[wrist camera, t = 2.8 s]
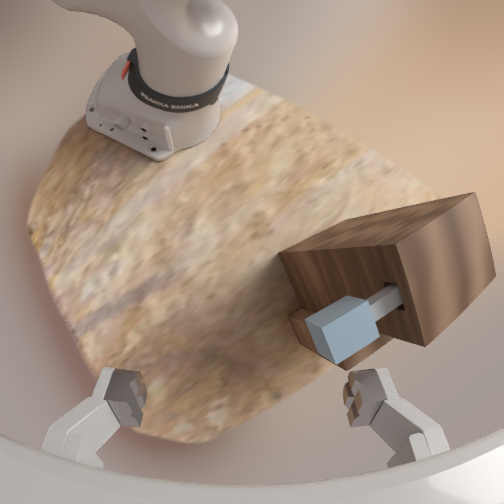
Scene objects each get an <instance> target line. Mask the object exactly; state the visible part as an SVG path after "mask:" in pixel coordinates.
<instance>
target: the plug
mask: <svg viewBox="0 0 504 504" xmlns="http://www.w3.org/2000/svg"><path fill="white" fill-rule="evenodd" d="M402 303H403V300H402V297H401V293H400V290H399V287H398V284H397V283H391V284H390V285H388V286H387V287H385V288H384V289H382V290H380V291H379V292H377V293H376V294H374V295H373V296H371V297H369V298H368V299H366V300H364V299H360V298H356V297H351V296H345V297H343V298H341V299H340V300H338V301H336V302H335V303H333V304H331V305H329V306H328V307H326V308H324V309H322V310H320V311H319V312H317V313H315V314H313V315H311V316H310V317H308V318H306V319H304V320H305V322H306V325H307V327H308V329H309V332H310V334H311V337H312V339H313V341H314V344H315V346H316V349H317V351H318V353H319V354H321V355H322V356H324V357H325V358H327V359H328V360H330V361H331V362H333V363H334V364H336V365H337V364H338V363H340V362H342V361H343V360H345V359H346V358H348V357H350V356H351V355H353V354H354V353H356V352H357V351H359V350H360V349H362V348H364V347H365V346H367V345H368V344H370V343H371V342H373V341H374V340H376V339H377V338H378V337H380V336H379V333H378V329H377V326H376V323H375V322H376V321H377V320H379V319H380V318H382V317H383V316H385V315H386V314H388V313H389V312H391V311H392V310H394V309H395V308H396V307H398V306H399V305H401V304H402Z"/></svg>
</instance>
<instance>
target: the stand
mask: <svg viewBox="0 0 504 504" xmlns="http://www.w3.org/2000/svg"><path fill="white" fill-rule="evenodd" d="M279 255H280V257H281V259H282V262H283V264H284V266H285V269H286V271H287V273H288V276H289V278H290V280H291V283H292V285H293V287H294V290H295V292H296V294H297V297H298V299H299V302H300V304H301V306H302V309H300V310H298V311H296V312H294V313H293V314H291V315H289V316H288V317H289V319H290V321H291V324H292V326H293V328H294V331H295V333H296V335H297V338H298V340H299V342H300V344H301V345H303V346H304V347H306V348H308V349H310V350H311V351H313V352H315V353H316V354H318V355H320V356H321V357H323V358H325V357H324V356H322V355H321V354H319V353H318V351H317V349H316V346H315V344H314V341H313V339H312V337H311V334H310V332H309V329H308V327H307V325H306V322H305V320H304V319H306V318H308V317H310V316H311V315H313V314H315V313H317V312H319V311H320V310H322V309H324V308H326V307H328V306H329V305H331V304H333V303H335V302H336V301H338V300H340V299H341V298H343V297H345V296H351V297H356V298H360V299H364V300H366V299H368V298H369V297H371V296H373V295H374V294H376V293H377V292H379V291H380V290H382V289H384V288H385V287H387V286H388V285H390V284H391V283H397V284H398V287H399V290H400V293H401V297H402V300H403V303H402V304H401V305H399V306H398V307H396V308H395V309H394V310H392V311H391V312H389V313H388V314H386V315H385V316H383V317H382V318H380V319H379V320H377V321H376V322H375V323H376V326H377V329H378V333H379V336H380V337H378V338H377V339H376V340H374V341H373V342H371V343H370V344H368V345H367V346H365V347H364V348H362V349H360V350H359V351H357V352H356V353H354V354H353V355H351V356H350V357H348V358H346V359H345V360H343V361H342V362H340V363H338V364H337V366H339V367H340V368H342V369H344V370H346V371H347V370H349V369H351V368H352V367H354V366H355V365H357V364H358V363H359V362H361V361H362V360H364V359H365V358H366V357H368V356H369V355H371V354H372V353H374V352H375V351H377V350H378V349H379V348H381V347H382V346H383V345H385V344H386V343H387V342H389V341H390V340H391V339H393V338H397V339H400V340H403V341H407V342H410V343H413V344H417V345H420V346H424V347H426V346H427V345H428V344H429V343H430V342H431V341H433V340H434V339H435V338H436V337H437V336H438V335H439V334H440V333H441V332H442V331H444V330H445V329H446V328H447V327H448V326H449V325H450V324H451V323H452V322H453V321H454V320H455V319H456V318H457V317H458V316H459V315H460V314H461V313H462V312H463V311H464V310H465V309H466V308H467V307H468V306H469V305H470V304H471V303H472V302H473V301H474V300H475V299H476V298H477V297H478V296H479V294H480V293H481V292H482V291H483V290H484V289H485V288H486V287H487V286H488V285H489V283H490V282H491V281H492V280H493V279H494V278H495V277H496V273H495V267H494V262H493V257H492V253H491V248H490V244H489V239H488V236H487V232H486V228H485V224H484V220H483V216H482V213H481V209H480V206H479V203H478V200H477V196H476V193H475V192H472V193H468V194H462V195H458V196H453V197H448V198H444V199H439V200H434V201H430V202H425V203H420V204H416V205H411V206H407V207H402V208H397V209H393V210H388V211H384V212H379V213H375V214H370V215H366V216H361V217H357V218H352V219H348V220H345V221H343V222H341V223H339V224H337V225H335V226H332V227H330V228H328V229H326V230H324V231H322V232H320V233H318V234H316V235H314V236H312V237H310V238H308V239H306V240H304V241H302V242H300V243H298V244H296V245H293V246H291V247H289V248H287V249H285V250H283V251H281V252H279ZM325 359H327V358H325ZM327 360H328V359H327ZM328 361H330V360H328ZM330 362H331V361H330ZM332 363H333V362H332ZM333 364H334V363H333ZM335 365H336V364H335Z"/></svg>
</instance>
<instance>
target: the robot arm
mask: <svg viewBox="0 0 504 504" xmlns="http://www.w3.org/2000/svg"><path fill="white" fill-rule="evenodd" d="M52 1H54V2H55V3H56V4H57V5H59V6H61V7H62V8H65V9H66V10H69V11H77V12H85V13H91V14H95V15H99V16H101V17H104V18H107V19H109V20H111V21H113V22H115V23H117V24H118V25H120V26H121V27H123V28H124V29H125V30H127V31H128V32H129V33H130V34H131V36H132V37H133V39H134V42H135V46H136V48H134V49H132V51H131V52H129V53H125V54H123V55H121V56H119V57H118V58H117V59H116V60H115V61H114V62H113V63H112V65H111V66H110V67H109V68H108V69H107V70H106V71H105V72H104V74H103V75H102V76H101V77H100V79H99V80H98V82H97V84H96V85H95V87H94V89H93V91H92V93H91V96H90V98H89V101H88V104H87V108H86V122H87V125H88V127H90V128H91V129H93V130H95V131H97V132H99V133H102V134H104V135H106V136H108V137H110V138H112V139H114V140H116V141H118V142H120V143H122V144H124V145H126V146H128V147H130V148H132V149H134V150H136V151H138V152H140V153H142V154H144V155H146V156H148V157H150V158H152V159H154V160H156V161H163V160H165V159H167V158H168V157H170V156H171V155H172V154H174V153H175V152H177V151H179V150H182V149H186V148H189V147H192V146H195V145H197V144H199V143H201V142H202V141H204V140H205V139H207V138H208V137H209V136H210V135H211V134H212V133H213V131H214V130H215V128H216V127H217V125H218V122H219V119H220V114H221V108H220V102H219V97H220V96H221V94H222V91H223V89H224V86H225V84H226V81H227V78H228V71H229V60H230V57H231V55H232V52H233V49H234V47H235V44H236V41H237V38H238V25H237V21H236V18H235V16H234V14H233V13H232V11H231V10H230V9H229V8H228V7H227V6H226V5H225V4H224V3H223V2H222V1H221V0H52ZM92 109H94V111H92V112H90V111H91V110H92ZM112 130H113V131H112ZM152 148H156V151H154V152H153V151H151V149H152ZM141 380H142V375H141V373H140V372H139V371H131V370H124V369H117V368H110V367H104V368H103V369H102V371H101V373H100V376H99V378H98V381H97V383H96V386H95V389H94V392H93V394H92V397H88V398H87V399H85V400H84V401H82V402H81V403H80V404H78V405H77V406H76V407H74V408H73V409H72V410H71V411H69V412H68V413H67V414H65V415H64V416H63V417H61V418H60V419H59V420H57V421H56V422H55V423H53V424H52V425H51V426H50V428H49V430H48V433H47V435H46V438H45V441H44V443H43V446H42V449H41V450H38V449H36V448H33V447H30V446H28V445H25V444H23V443H20V442H18V441H15V440H13V439H10V438H8V437H6V436H4V435H1V434H0V504H504V428H502V429H500V430H497V431H495V432H493V433H491V434H489V435H486V436H484V437H482V438H479V439H477V440H475V441H472V442H470V443H467V444H465V445H462V446H459V447H457V448H454V449H451V450H450V448H449V445H448V443H447V440H446V438H445V435H444V433H443V430H442V428H441V426H440V425H438V424H437V423H436V422H435V421H433V420H432V419H431V418H429V417H428V416H426V415H425V414H424V413H422V412H421V411H420V410H418V409H417V408H416V407H414V406H413V405H412V404H410V403H409V402H408V401H406V400H405V399H404V398H402V397H401V398H399V396H398V394H397V392H396V389H395V386H394V384H393V382H392V380H391V377H390V375H389V372H388V370H387V369H386V368H378V369H368V370H360V371H351V372H350V373H349V375H348V380H349V381H348V382H347V383H346V384H345V386H344V389H343V400H344V405H345V406H346V407H347V408H348V409H349V411H348V413H347V416H348V420H349V424H350V427H357V426H366V425H370V427H371V428H372V429H373V430H374V431H375V432H376V433H377V434H378V435H379V436H380V437H381V438H382V439H383V440H384V441H385V442H386V443H387V444H388V445H389V446H390V447H391V448H392V449H393V450H394V451H395V452H396V453H395V454H394V456H393V457H392V458H391V459H390V460H389V461H388V463H387V465H388V468H387V469H383V470H378V471H373V472H368V473H363V474H358V475H353V476H347V477H340V478H333V479H326V480H318V481H309V482H298V483H285V484H265V485H225V484H204V483H191V482H180V481H171V480H163V479H156V478H149V477H142V476H136V475H131V474H126V473H121V472H116V471H111V470H107V469H103V465H104V463H103V462H102V460H101V459H100V458H99V457H98V456H97V455H96V454H95V452H96V451H97V450H98V449H99V448H100V447H101V446H102V445H103V444H104V443H105V442H106V441H107V440H108V439H109V438H110V437H111V436H112V435H113V434H114V432H116V431H117V430H118V428H119V427H120V426H121V425H125V426H132V427H140V425H141V421H142V417H143V413H142V411H141V408H143V407H144V406H145V404H146V399H147V391H146V386H145V384H144V383H143V382H142V381H141Z"/></svg>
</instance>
